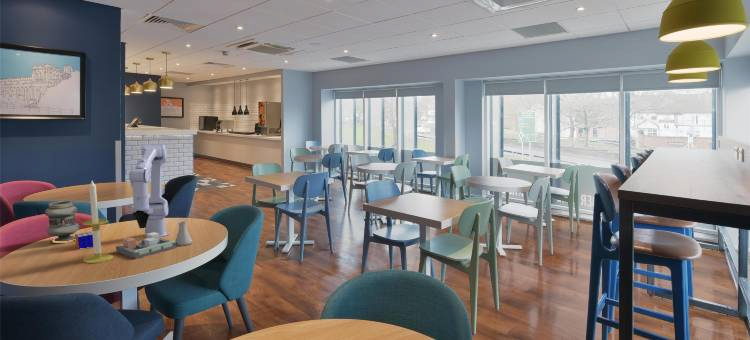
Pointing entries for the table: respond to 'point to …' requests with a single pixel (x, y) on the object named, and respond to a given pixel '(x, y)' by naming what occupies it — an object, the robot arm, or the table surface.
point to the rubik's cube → (84, 240)
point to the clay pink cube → (129, 243)
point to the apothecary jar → (62, 220)
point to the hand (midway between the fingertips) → (142, 227)
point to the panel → (146, 248)
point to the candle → (96, 229)
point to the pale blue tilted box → (150, 242)
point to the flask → (183, 235)
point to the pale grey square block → (153, 236)
